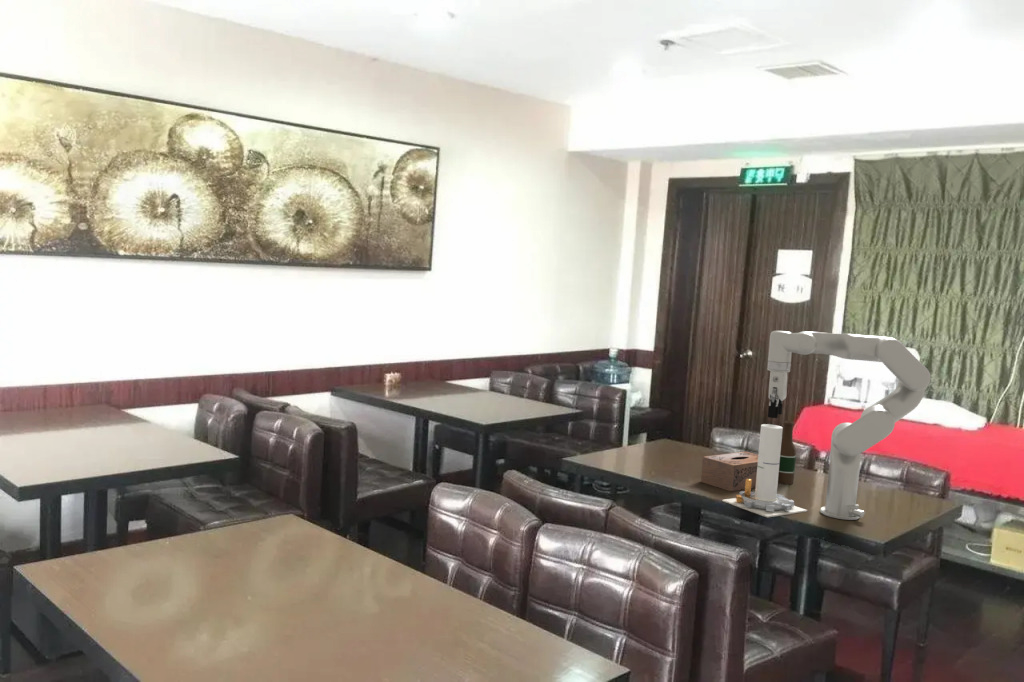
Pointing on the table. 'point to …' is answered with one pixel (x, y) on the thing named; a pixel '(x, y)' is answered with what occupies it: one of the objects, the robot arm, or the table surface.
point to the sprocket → (768, 505)
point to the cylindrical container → (768, 462)
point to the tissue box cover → (730, 470)
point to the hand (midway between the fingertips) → (774, 415)
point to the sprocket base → (764, 512)
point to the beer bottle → (787, 455)
